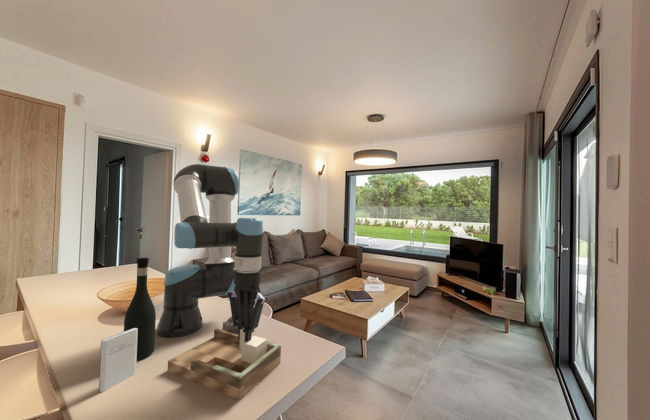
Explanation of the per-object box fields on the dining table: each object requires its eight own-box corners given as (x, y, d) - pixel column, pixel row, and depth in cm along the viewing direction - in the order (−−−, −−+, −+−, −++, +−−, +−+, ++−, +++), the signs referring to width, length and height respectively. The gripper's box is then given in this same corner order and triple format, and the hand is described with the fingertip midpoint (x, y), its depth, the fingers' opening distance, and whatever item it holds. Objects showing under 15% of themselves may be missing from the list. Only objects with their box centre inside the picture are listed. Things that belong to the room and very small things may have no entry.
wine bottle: (116, 359, 78) (120, 258, 79) (142, 346, 86) (146, 255, 86) (134, 365, 75) (138, 261, 76) (160, 351, 83) (164, 257, 83)
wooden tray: (167, 371, 73) (168, 350, 73) (215, 344, 88) (216, 327, 88) (239, 402, 62) (240, 377, 62) (280, 365, 78) (281, 345, 78)
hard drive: (98, 391, 64) (100, 340, 65) (132, 372, 72) (134, 327, 72) (102, 392, 64) (104, 341, 64) (136, 374, 71) (138, 328, 72)
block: (241, 360, 74) (242, 342, 74) (253, 352, 79) (253, 335, 79) (255, 365, 72) (256, 347, 72) (266, 356, 77) (267, 339, 77)
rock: (247, 337, 93) (247, 324, 93) (219, 334, 95) (219, 321, 96) (258, 328, 101) (258, 315, 101) (232, 325, 103) (232, 313, 104)
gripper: (221, 269, 76) (217, 352, 75) (256, 275, 70) (253, 364, 70) (239, 265, 83) (236, 341, 82) (273, 270, 77) (270, 351, 77)
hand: (244, 351), depth 76 cm, fingers closed
